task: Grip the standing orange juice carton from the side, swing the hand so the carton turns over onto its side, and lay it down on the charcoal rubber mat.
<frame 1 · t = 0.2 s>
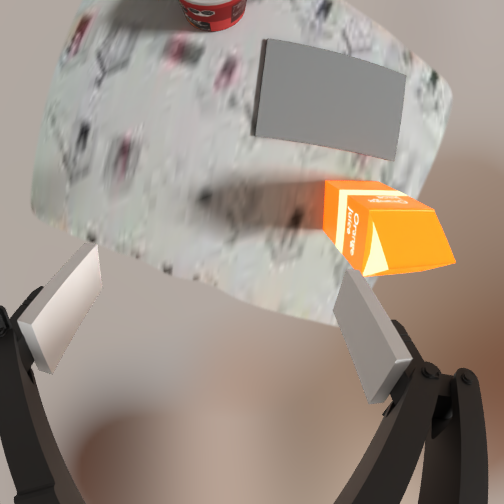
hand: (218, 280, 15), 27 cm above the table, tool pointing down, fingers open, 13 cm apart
canned food: (215, 10, 30), on the table
orange juice: (350, 205, 43), on the table
mat: (336, 99, 36), on the table
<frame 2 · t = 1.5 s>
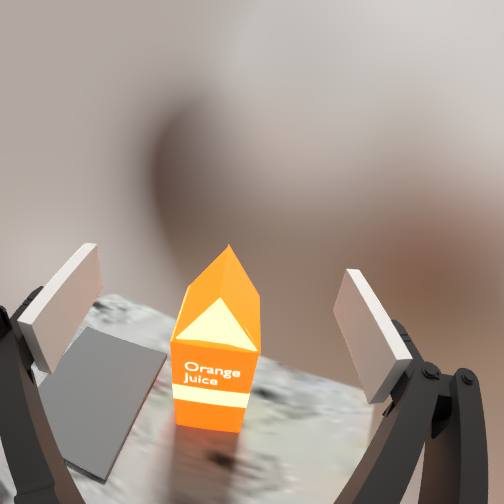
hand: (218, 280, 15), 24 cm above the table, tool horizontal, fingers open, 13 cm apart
orange juice: (211, 402, 34), on the table
mat: (91, 393, 31), on the table
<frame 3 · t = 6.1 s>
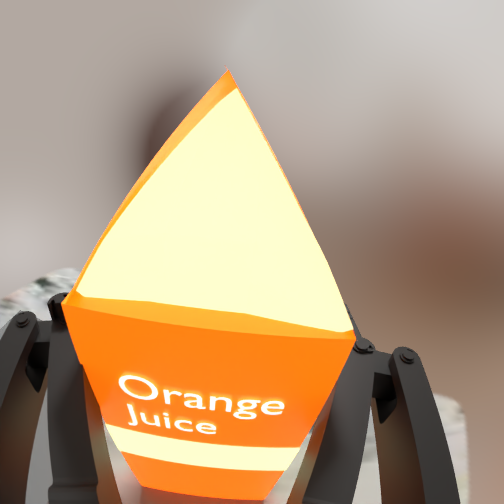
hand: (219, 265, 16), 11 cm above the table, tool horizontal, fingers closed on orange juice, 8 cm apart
orange juice: (207, 442, 17), on the table, touching gripper
mat: (6, 415, 13), on the table
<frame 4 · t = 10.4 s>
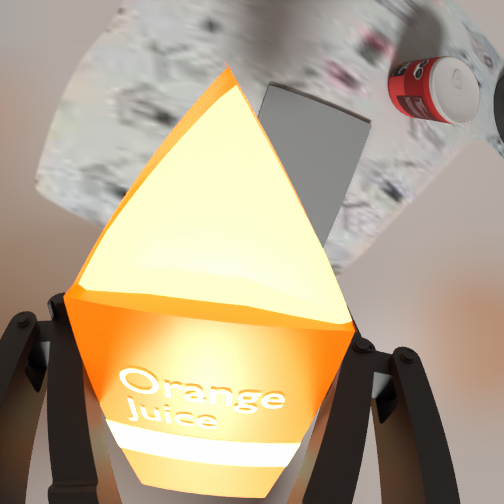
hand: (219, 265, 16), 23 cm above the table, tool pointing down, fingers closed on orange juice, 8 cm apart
canned food: (408, 90, 32), on the table
orange juice: (208, 440, 17), point 28 cm above the table, touching gripper
mat: (295, 179, 37), on the table
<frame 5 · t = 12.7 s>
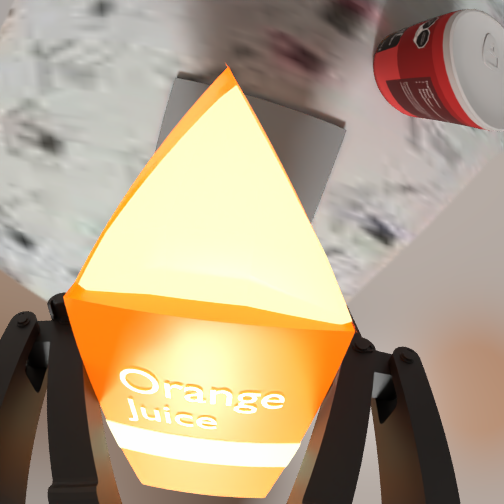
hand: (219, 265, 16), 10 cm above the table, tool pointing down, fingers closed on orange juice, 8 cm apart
canned food: (407, 74, 20), on the table
orange juice: (208, 440, 17), point 14 cm above the table, touching gripper
mat: (224, 219, 25), on the table
when the fingers open (3 cm above the table, at t = 14.5 s): orange juice drops 2 cm, resting on mat.
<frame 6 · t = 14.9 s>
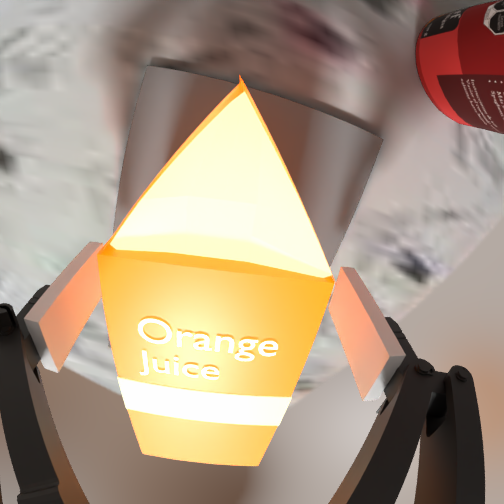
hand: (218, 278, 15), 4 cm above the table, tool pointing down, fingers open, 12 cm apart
canned food: (453, 69, 14), on the table
orange juice: (204, 412, 19), point 5 cm above the table, touching mat
mat: (218, 257, 19), on the table
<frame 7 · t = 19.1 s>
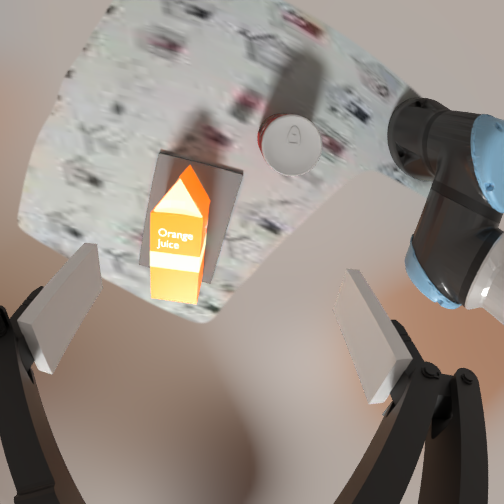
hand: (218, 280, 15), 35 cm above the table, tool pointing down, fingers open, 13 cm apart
canned food: (281, 138, 45), on the table
orange juice: (178, 287, 50), point 5 cm above the table, touching mat
mat: (185, 221, 50), on the table
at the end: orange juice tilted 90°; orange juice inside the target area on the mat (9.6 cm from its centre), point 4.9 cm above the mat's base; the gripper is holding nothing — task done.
